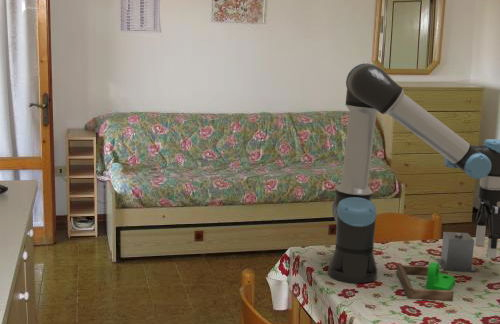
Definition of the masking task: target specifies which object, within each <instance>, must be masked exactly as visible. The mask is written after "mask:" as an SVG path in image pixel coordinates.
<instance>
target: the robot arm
mask: <svg viewBox="0 0 500 324" xmlns="http://www.w3.org/2000/svg"><path fill="white" fill-rule="evenodd" d="M345 86H346V95H345V107H346V108H347V109H348V111H349V112H348V121H347V129H346V130H347V131H346V139H345V148H344V158H343V167H342V175H341V183H340V184H339V185H337V186H336V187H335V195H334V197H335V198H334V201H333V204H332V206H331V207H332V210H331V211H332V216H333V218H334V221H335V225H336V232H335V234H336V235H335V247H334V248H335V249H334V252H333V254H332V256H331V258H330V261H329V263H328V268H327V269H328V271H327V273H328V276H329V277H331V278H333V279H335V280H338V281H341V282H345V283H351V284H352V283H353V284H365V283H370V282H371V283H372V282H373V281H375V280H376V279H377V278H378V267H377V263H376V259H375V256H374V255H375V254H374V247H375V246H374V244H375V234H376V233H375V232H376V231H375V230H376V219H377V216H378V215H377V207H376V204H375V203H374V202H373V201H372V195H373V191H372V190H371V189H370V187H369V180H370V171H371V164H372V155H373V146H374V139H375V129H376V121H377V114H378V113H380V114H381V115H388V116H389V117H391V118H393V119H394V120H395V121H397V123H399V124H400V125H402V126H403V127H404V128H406V129H407V130H408V131H410V132H411V133H412V134H413V135H415V136H416V137H418V138H419V139H420V140H422V141H423V142H424V143H425V144H427V145H428V146H429V147H431V149H433V150H435V151H436V152H438V153H439V154H440V155H441V156H443V163H444V166H445V167H446V168H451V169H459V170H460V171H463V173H465V174H466V175H467V176H468V177H469V178H472V179H475V180H479V186H480V187H479V190H478V198H479V199H480V200H479V206H478V209H477V212H476V215H475V219H474V220H475V222H476V234H475V240H474V245H479V246H484V245H485V238H486V228H487V226H488V230H489V231H488V232H489V235H488V236H487V242H488V243H487V250H486V251H487V252H486V258H487V259H497V253H498V252H497V251H498V245H499V244H498V242H499V239H500V206H498V203H499V202H500V139H497V138H496V139H494V138H490V139H489V138H487V139H485V140H484V143H483V144H482V145H471V144H470V143H469V142H468V141H466V140H465V139H464V138H463V137H462V136H460V135H459V134H457V132H455V131H453V130H452V129H451V128H450V127H448V126H447V125H446V124H444V123H443V122H442V121H440V120H439V119H438V118H436V117H435V116H434V115H433V114H431V113H430V112H428V111H427V110H426V109H425V108H424V107H422V106H421V105H420V104H418V102H416V101H414V100H413V99H412V98H410V96H408V95H406V94H405V92H404V88H403V87H402V86H400V84H398V83H397V82H395V80H394V79H393V78H391V77H390V75H389V74H388V73H387V72H386V71H385V70H384V69H383V68H382V67H380V66H377V65H376V64H372V63H360V64H358V65H356V66H354V67H352V69H351V70H350V71H349V72H348V74H347V76H346V79H345Z"/></svg>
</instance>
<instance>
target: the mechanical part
mask: <svg viewBox="0 0 500 324" xmlns="http://www.w3.org/2000/svg"><path fill="white" fill-rule="evenodd" d="M428 266H429V268H428V274H427V275H426V277H427V278H426V285H425V287H426V288H425V289H429V290H447V291H452V289H453V288H454V287H455V285H456V278H455V277H454V276H452V275H449V274H445V273H440V269H441V268H440V267H441V265H440V264H439V262H438V263H437V262H434V261H431V262H429V265H428Z"/></svg>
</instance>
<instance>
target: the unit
mask: <svg viewBox="0 0 500 324" xmlns="http://www.w3.org/2000/svg"><path fill="white" fill-rule="evenodd" d="M442 233H443V234H442V244H441V245H442V246H441V255H440V258H437V259H436V261H437V262H438V263H439V265H440V267H441V269H442V270H443V271H449V272H450V271H451V272H463V273H464V272H466V273H468V272H469V273H476V269H475V268H474V267H473V255H474V248H475V247H474V246H475V239H474V238H473V237H472V236H471V235H470V234H469V232H454V231H443V232H442Z"/></svg>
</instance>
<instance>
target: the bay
mask: <svg viewBox="0 0 500 324" xmlns="http://www.w3.org/2000/svg"><path fill="white" fill-rule="evenodd" d="M428 268H429V265H428V266H427V265H425V266H424V265H408V264H402V263H401V262H399V263H397V265H396V274H397V276H398V278H399V280H400V283H401V285H402V287H403V290H404V292H405V294H406V298H408V299H418V300H419V299H420V300H421V299H422V300H433V301H434V300H437V301H454V295H455V293H454V291H453V290H450V291H447V290H429V289H426V288H414V286H413V285H412V283H411V281H410V278H409V277H408V275H417V276H427V274H428Z"/></svg>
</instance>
